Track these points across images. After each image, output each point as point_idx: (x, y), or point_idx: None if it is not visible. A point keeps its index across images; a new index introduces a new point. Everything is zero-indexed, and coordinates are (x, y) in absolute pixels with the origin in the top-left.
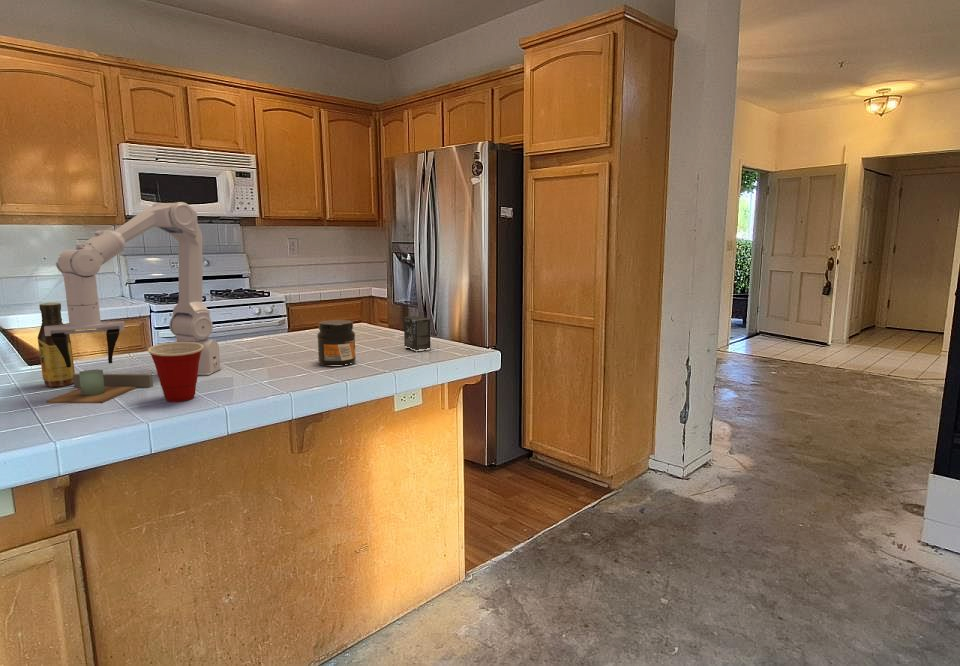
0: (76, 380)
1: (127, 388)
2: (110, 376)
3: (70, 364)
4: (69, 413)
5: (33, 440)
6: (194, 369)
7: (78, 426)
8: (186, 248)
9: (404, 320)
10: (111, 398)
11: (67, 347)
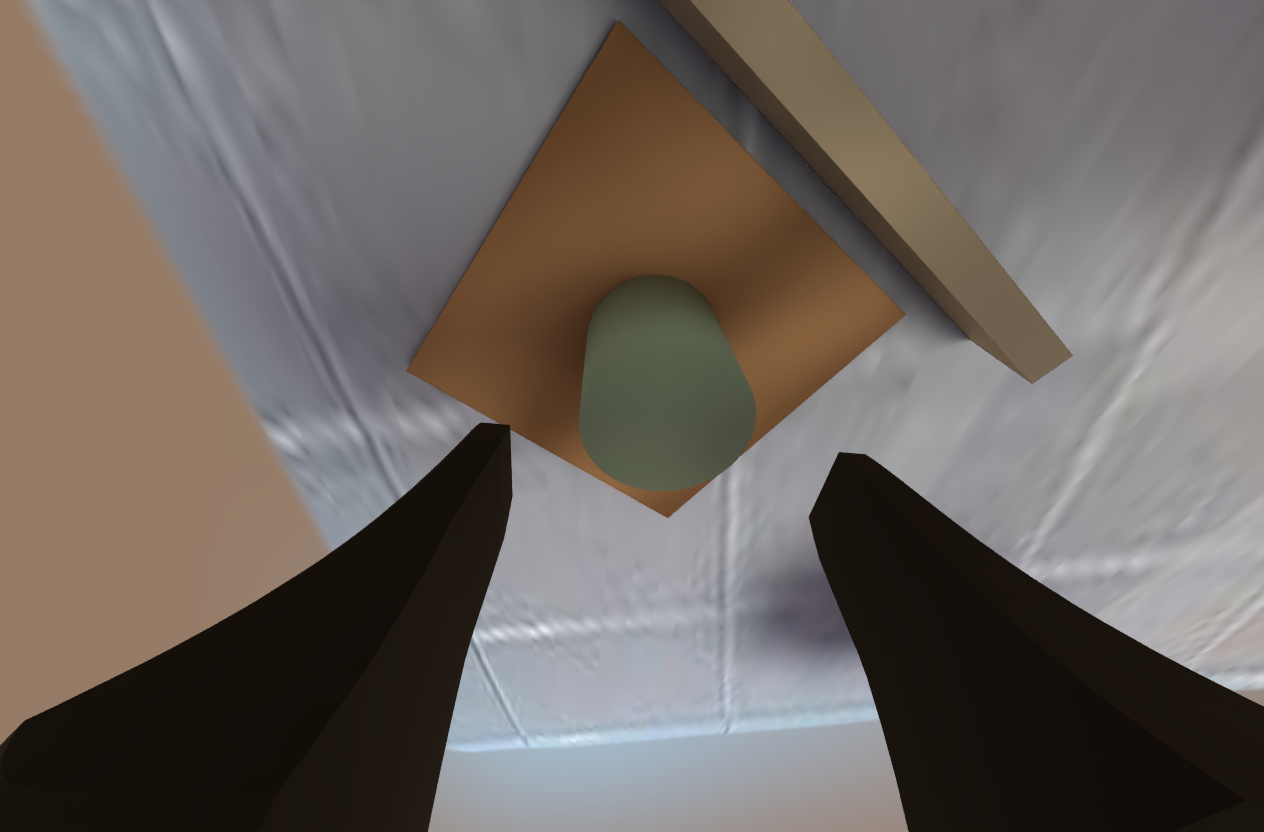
0: None
1: (850, 334)
2: (837, 171)
3: (507, 496)
4: (541, 577)
5: (475, 719)
6: None
7: (571, 685)
8: None
9: None
10: None
11: (439, 661)
